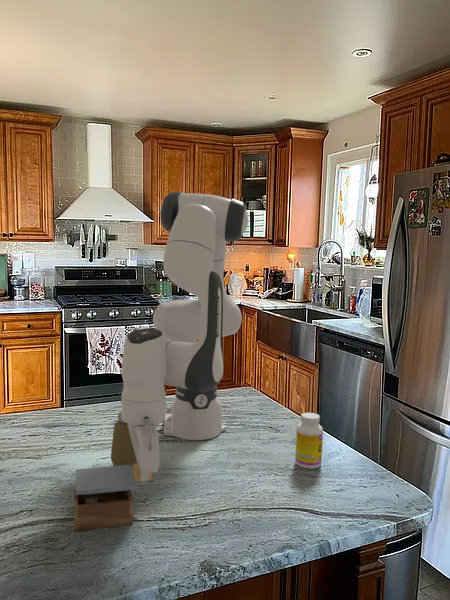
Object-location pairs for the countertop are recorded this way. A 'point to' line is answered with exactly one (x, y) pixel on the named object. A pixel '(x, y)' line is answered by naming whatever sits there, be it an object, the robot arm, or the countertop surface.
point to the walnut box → (103, 510)
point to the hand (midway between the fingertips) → (142, 474)
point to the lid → (107, 479)
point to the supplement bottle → (309, 441)
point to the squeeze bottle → (122, 444)
